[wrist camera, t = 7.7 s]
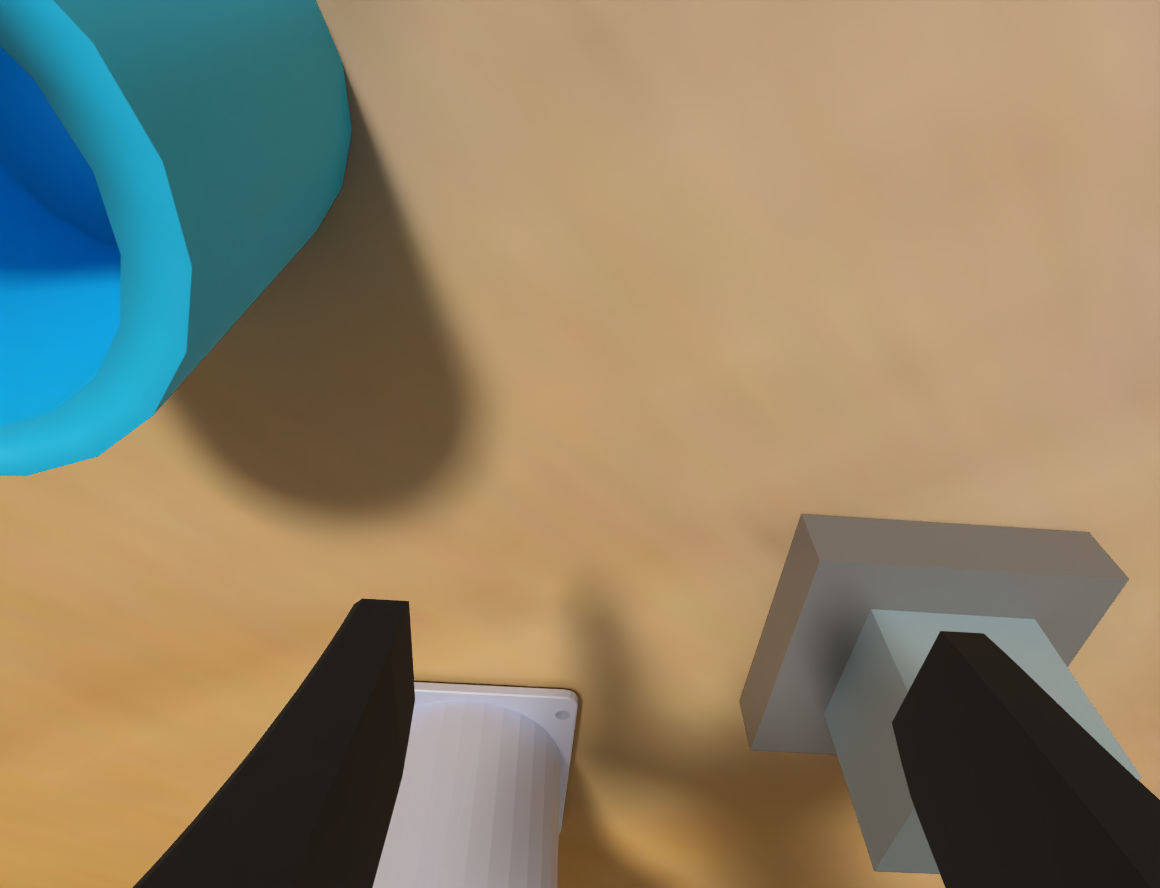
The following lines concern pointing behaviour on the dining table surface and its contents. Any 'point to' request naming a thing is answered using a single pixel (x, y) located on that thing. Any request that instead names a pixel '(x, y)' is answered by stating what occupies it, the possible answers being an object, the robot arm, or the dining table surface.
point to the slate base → (907, 604)
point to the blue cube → (877, 693)
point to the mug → (148, 198)
